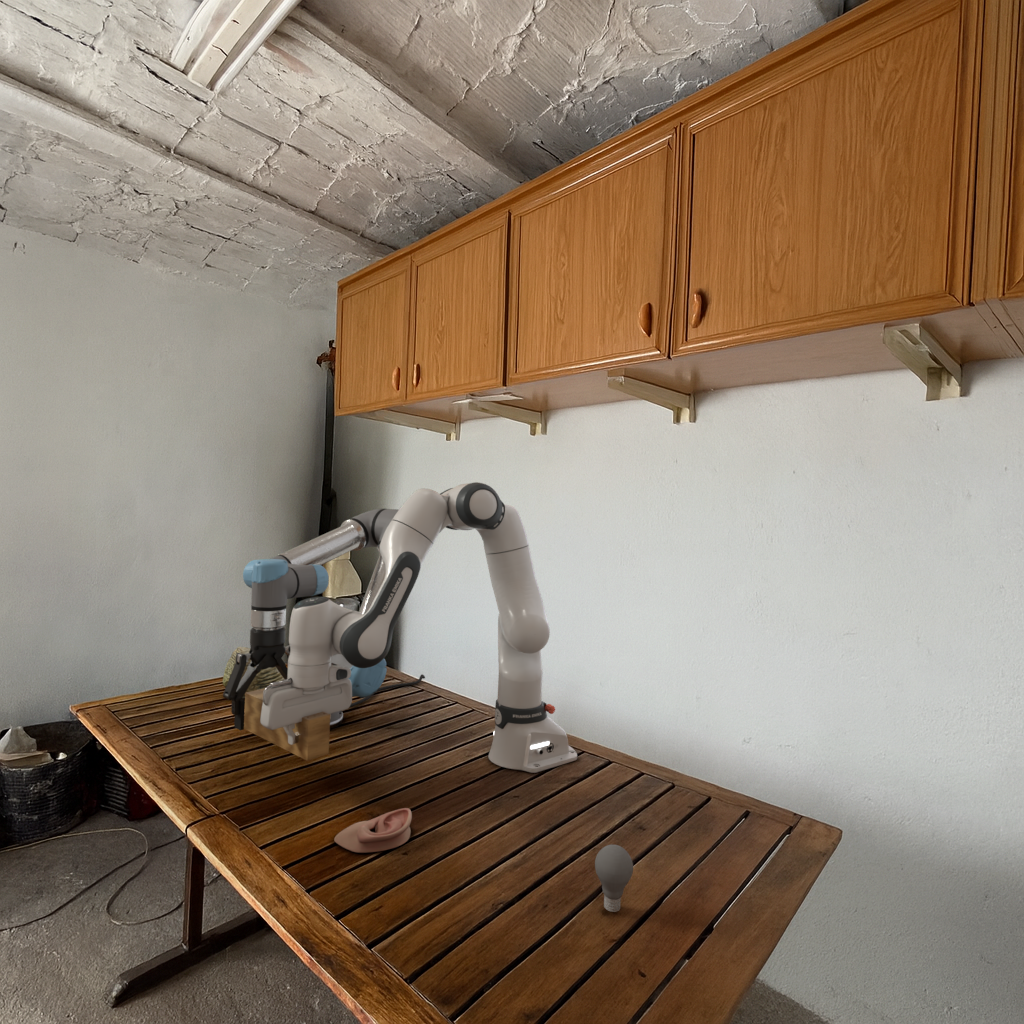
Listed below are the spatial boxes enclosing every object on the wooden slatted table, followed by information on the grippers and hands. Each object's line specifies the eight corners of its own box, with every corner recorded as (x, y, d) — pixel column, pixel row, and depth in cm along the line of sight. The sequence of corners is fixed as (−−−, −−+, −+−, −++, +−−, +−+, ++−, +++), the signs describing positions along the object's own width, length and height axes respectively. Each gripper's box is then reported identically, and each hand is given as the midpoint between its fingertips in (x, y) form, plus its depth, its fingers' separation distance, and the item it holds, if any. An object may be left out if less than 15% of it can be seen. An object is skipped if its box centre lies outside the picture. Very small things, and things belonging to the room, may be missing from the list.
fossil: (218, 695, 195) (220, 647, 195) (278, 685, 208) (279, 640, 207) (228, 703, 189) (230, 653, 188) (289, 692, 201) (290, 645, 201)
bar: (243, 728, 146) (245, 692, 146) (264, 723, 150) (266, 688, 150) (307, 761, 130) (308, 720, 130) (328, 753, 134) (330, 714, 134)
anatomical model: (326, 826, 114) (355, 797, 125) (325, 847, 114) (354, 817, 126) (396, 837, 112) (418, 806, 123) (395, 859, 112) (417, 827, 123)
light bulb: (589, 897, 103) (592, 837, 103) (625, 897, 104) (628, 837, 104) (597, 922, 97) (600, 857, 97) (635, 921, 98) (638, 857, 98)
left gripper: (225, 637, 133) (221, 740, 133) (322, 623, 152) (319, 713, 152) (208, 631, 138) (204, 730, 138) (304, 618, 156) (301, 706, 157)
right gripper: (272, 687, 124) (270, 757, 125) (357, 668, 140) (355, 730, 141) (255, 680, 128) (253, 748, 128) (340, 663, 144) (337, 723, 144)
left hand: (264, 721), depth 145 cm, fingers open, 11 cm apart
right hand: (307, 739), depth 135 cm, fingers closed on bar, 5 cm apart
